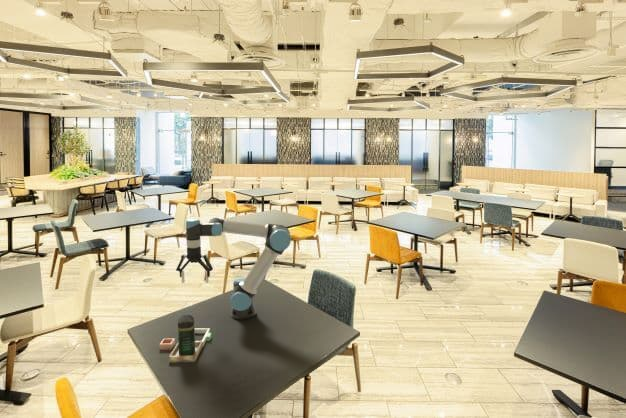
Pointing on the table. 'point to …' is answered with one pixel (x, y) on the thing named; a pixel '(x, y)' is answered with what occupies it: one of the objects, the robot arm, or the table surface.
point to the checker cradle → (207, 335)
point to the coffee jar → (186, 335)
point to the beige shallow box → (192, 358)
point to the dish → (167, 344)
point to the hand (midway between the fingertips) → (195, 282)
